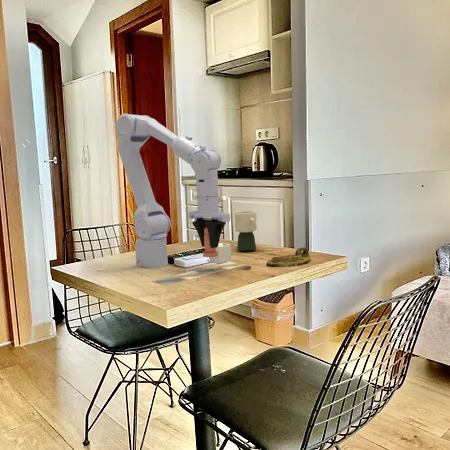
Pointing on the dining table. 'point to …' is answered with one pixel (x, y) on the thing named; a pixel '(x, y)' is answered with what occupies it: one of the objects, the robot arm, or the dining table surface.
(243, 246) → the character mug
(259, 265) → the dining table surface
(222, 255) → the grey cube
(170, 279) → the board
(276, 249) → the dining table surface
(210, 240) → the robot arm
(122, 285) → the dining table surface
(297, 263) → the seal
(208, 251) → the dildo
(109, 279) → the dining table surface
